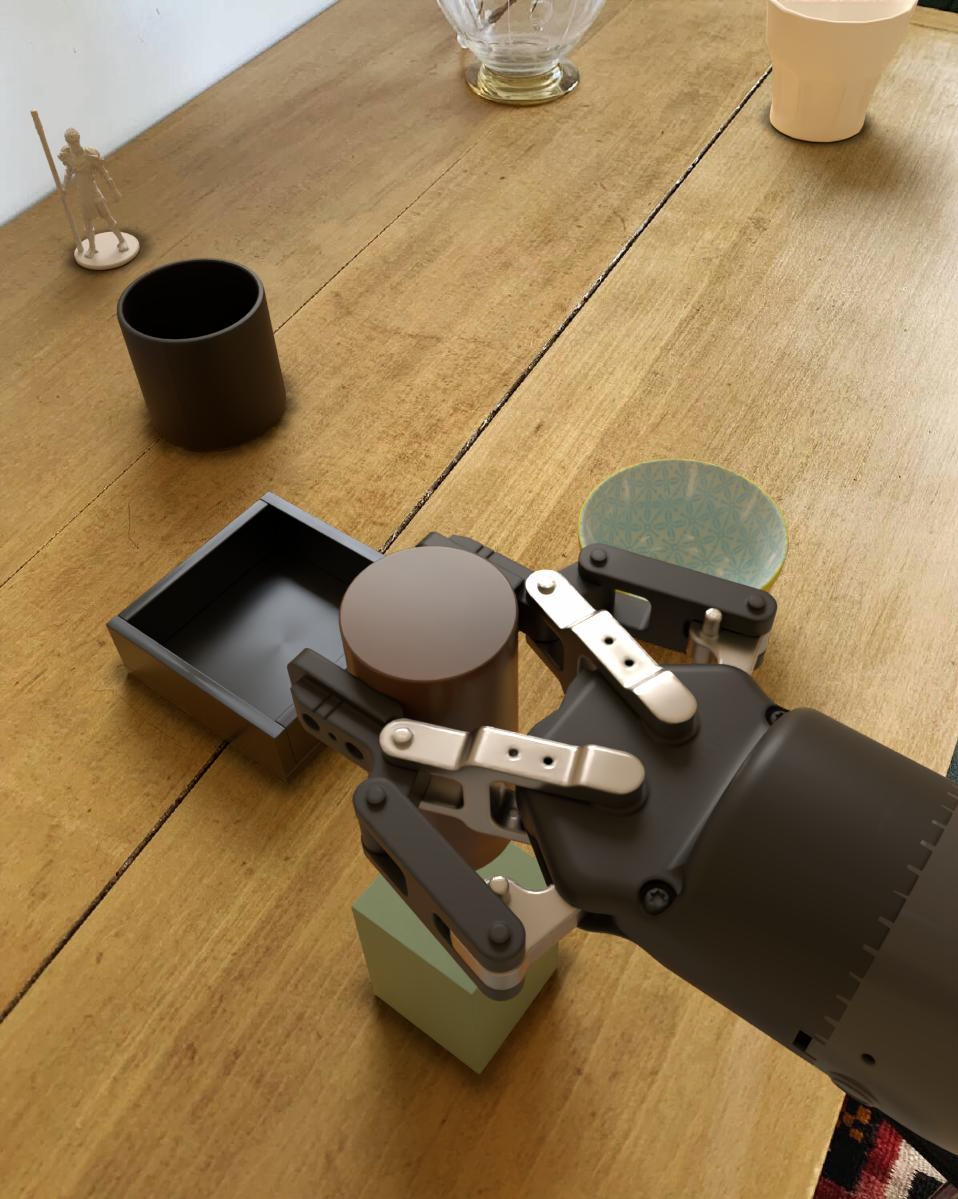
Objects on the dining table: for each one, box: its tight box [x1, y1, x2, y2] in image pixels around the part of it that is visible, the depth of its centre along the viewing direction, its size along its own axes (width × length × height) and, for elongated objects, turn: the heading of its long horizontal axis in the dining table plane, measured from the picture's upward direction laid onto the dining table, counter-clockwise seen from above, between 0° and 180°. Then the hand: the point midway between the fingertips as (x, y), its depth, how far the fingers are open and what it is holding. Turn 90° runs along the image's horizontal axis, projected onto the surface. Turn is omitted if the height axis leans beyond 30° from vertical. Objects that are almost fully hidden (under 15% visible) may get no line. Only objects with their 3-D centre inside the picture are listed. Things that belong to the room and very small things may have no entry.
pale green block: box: [350, 841, 560, 1075], centre depth 47 cm, size 6×6×9 cm
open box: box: [105, 490, 386, 785], centre depth 62 cm, size 13×13×4 cm
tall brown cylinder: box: [339, 546, 520, 871], centre depth 35 cm, size 5×5×11 cm
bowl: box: [577, 458, 790, 602], centre depth 63 cm, size 11×12×6 cm
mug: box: [116, 257, 287, 452], centre depth 75 cm, size 9×12×9 cm
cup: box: [765, 0, 919, 143], centre depth 98 cm, size 12×12×11 cm
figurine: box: [30, 108, 141, 271], centre depth 87 cm, size 5×5×12 cm
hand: (364, 615), depth 33 cm, fingers closed on tall brown cylinder, 5 cm apart
